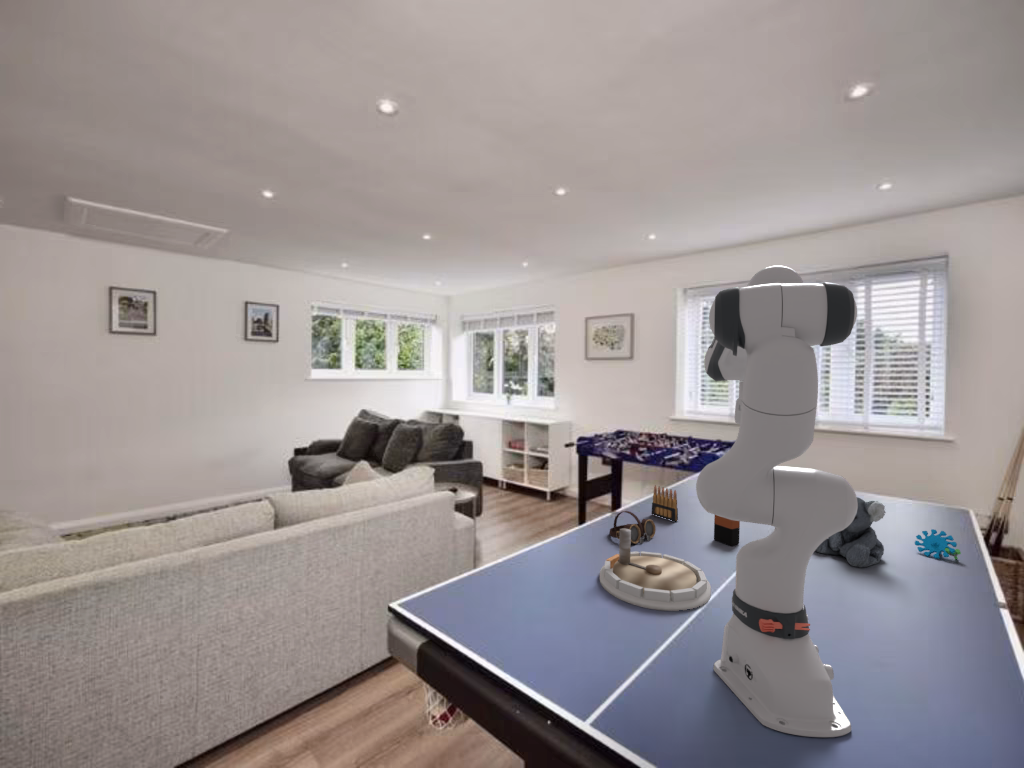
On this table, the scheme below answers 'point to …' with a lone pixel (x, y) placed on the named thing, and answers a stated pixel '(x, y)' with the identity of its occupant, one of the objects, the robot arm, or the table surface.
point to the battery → (726, 530)
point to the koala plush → (858, 537)
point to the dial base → (655, 603)
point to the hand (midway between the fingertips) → (755, 444)
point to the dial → (650, 569)
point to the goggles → (635, 529)
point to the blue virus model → (937, 544)
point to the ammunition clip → (665, 504)
